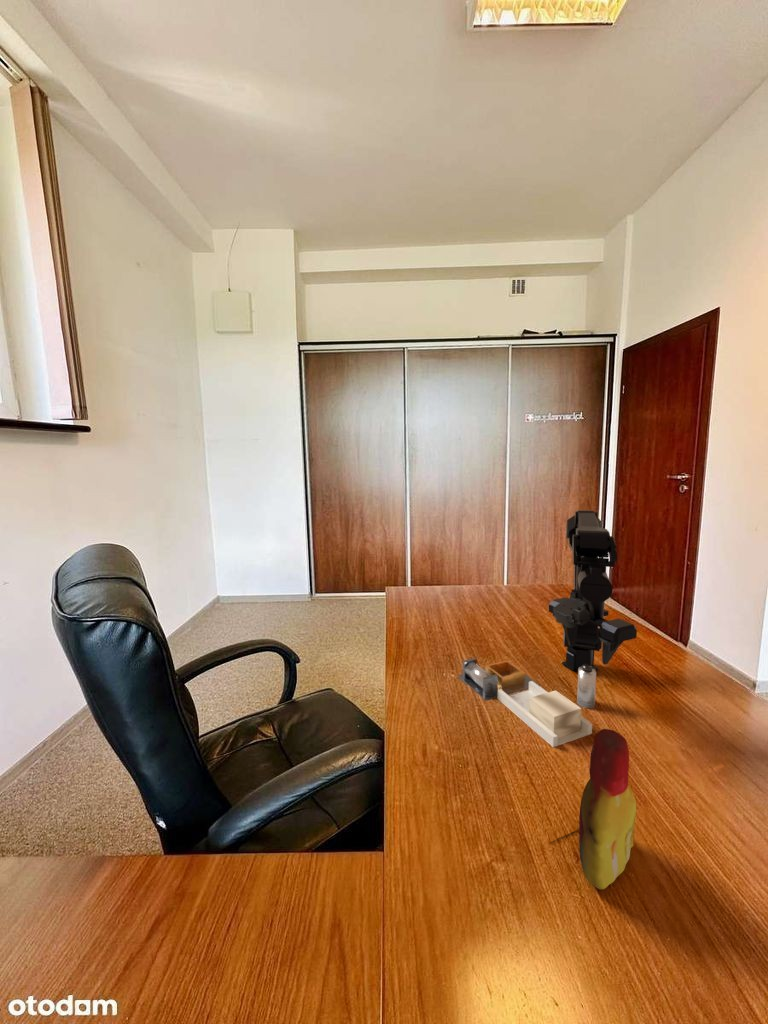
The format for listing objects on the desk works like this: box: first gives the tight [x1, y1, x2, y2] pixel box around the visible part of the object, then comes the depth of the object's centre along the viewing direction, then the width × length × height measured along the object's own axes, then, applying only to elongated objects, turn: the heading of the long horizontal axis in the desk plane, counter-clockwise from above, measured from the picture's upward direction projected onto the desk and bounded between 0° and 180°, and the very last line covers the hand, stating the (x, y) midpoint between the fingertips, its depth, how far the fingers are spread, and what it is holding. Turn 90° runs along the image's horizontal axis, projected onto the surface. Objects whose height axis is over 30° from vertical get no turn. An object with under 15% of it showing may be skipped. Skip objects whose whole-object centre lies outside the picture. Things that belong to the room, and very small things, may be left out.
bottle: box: [578, 728, 637, 890], centre depth 56 cm, size 12×6×20 cm, turn 134°
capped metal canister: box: [576, 664, 597, 709], centre depth 92 cm, size 4×4×10 cm
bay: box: [497, 681, 593, 748], centre depth 89 cm, size 10×18×2 cm, turn 21°
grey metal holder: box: [457, 657, 541, 701], centre depth 103 cm, size 16×12×5 cm
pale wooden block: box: [529, 689, 582, 739], centre depth 86 cm, size 7×8×5 cm
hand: (587, 654), depth 91 cm, fingers open, 9 cm apart
